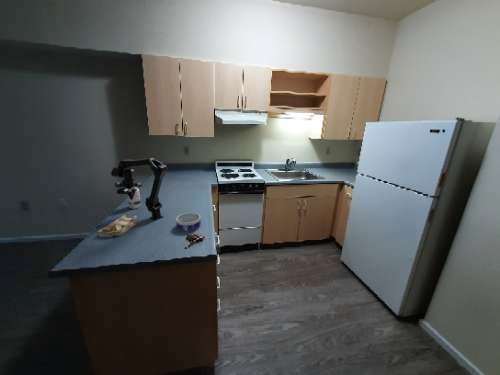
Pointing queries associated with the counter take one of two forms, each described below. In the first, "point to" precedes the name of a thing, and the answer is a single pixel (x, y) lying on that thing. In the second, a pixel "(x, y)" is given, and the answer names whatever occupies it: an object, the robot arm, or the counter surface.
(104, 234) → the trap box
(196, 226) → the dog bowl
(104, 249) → the counter surface
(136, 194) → the supplement can
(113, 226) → the walnut block
